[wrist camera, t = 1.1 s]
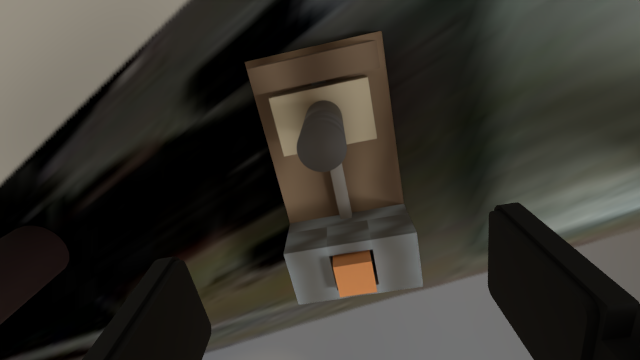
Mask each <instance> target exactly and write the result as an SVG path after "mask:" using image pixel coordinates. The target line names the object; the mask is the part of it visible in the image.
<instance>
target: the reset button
mask: <svg viewBox="0 0 640 360" xmlns="http://www.w3.org/2000/svg"><path fill="white" fill-rule="evenodd" d="M333 270H334V274H335V278H336V282H337V286H338V290H339V295H340V297H347V296H353V295H360V294H367V293H374V292H377V288H376V282H375V277H374V271H373V266H372V261H371V255H370V250H365V251H359V252H352V253H346V254H340V255H334V256H333Z"/></svg>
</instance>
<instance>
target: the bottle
mask: <svg viewBox="0 0 640 360" xmlns="http://www.w3.org/2000/svg"><path fill="white" fill-rule="evenodd" d="M68 262H69V252H68V249H67V247H66V245H65V243H64V242H63V241H62V240H61V238H60V237H58V236H57V235H56V234H55V233H53V232H51V231H49V230H47V229H45V228H43V227H38V226H34V225H33V226H23V227H20V228H17V229H15V230H13V231H12V232H10V233H8V234H7V235H5V236H4V237H2V238H0V324H1V323H2V322H4V321H5V320H6V319H7V318H8V317H9V316H10V315H12V314H13V313H14V312H15V311H16V310H17V309H19V308H20V307H21V306H22V305H23V304H24V303H25V302H27V301H28V300H29V299H30V298H31V297H32V296H33V295H35V294H36V293H37V292H38V291H39V290H40V289H42V288H43V287H44V286H45V285H46V284H47V283H48V282H50V281H51V280H52V279H53V278H54V277H55V276H57V275H58V274H59V273H60V272H61V271H62V270H63V269H65V268H66V266H67V264H68Z"/></svg>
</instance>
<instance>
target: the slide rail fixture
mask: <svg viewBox="0 0 640 360" xmlns="http://www.w3.org/2000/svg"><path fill="white" fill-rule="evenodd" d="M245 65H246V69H247V73H248V76H249V80H250V83H251V87H252V90H253V94H254V97H255V101H256V104H257V108H258V111H259V115H260V118H261V122H262V126H263V129H264V133H265V136H266V140H267V143H268V147H269V150H270V154H271V157H272V161H273V164H274V168H275V172H276V175H277V179H278V182H279V186H280V189H281V193H282V196H283V200H284V203H285V207H286V210H287V214H288V217H289V221H290V227H289V231H288V236H287V241H286V245H285V250H284V257H285V260H286V264H287V267H288V270H289V274H290V277H291V280H292V284H293V287H294V290H295V293H296V297H297V300H298V303H299V305H300V304H307V303H313V302H320V301H327V300H334V299H341V298H347V297H354V296H361V295H368V294H375V293H382V292H388V291H395V290H402V289H409V288H416V287H422V286H423V281H422V273H421V264H420V256H419V247H418V239H417V232H416V230H415V227H414V225H413V223H412V221H411V218H410V216H409V214H408V212H407V210H406V207H405V205H404V201H403V193H402V185H401V178H400V170H399V162H398V155H397V147H396V139H395V132H394V124H393V116H392V109H391V101H390V93H389V86H388V78H387V70H386V62H385V55H384V47H383V39H382V32H381V31H378V32H373V33H369V34H365V35H360V36H356V37H352V38H347V39H343V40H339V41H334V42H330V43H325V44H321V45H317V46H312V47H308V48H304V49H299V50H295V51H291V52H286V53H282V54H277V55H273V56H269V57H264V58H260V59H256V60H251V61H247V62H245ZM363 74H365V75H366V76H367V77H368V82H369V88H370V95H371V101H372V108H373V115H374V121H375V128H376V134H377V139H372V140H367V141H362V142H357V143H351V144H347V152H346V156H345V158H344V160H343V162H342V163H341V164H340V165H339V166H338V167H337V168H335V169H333V170H331V171H327V172H317V171H313V170H311V169H309V168H307V167H306V166H305V165H304V164H303V163H302V162H301V161H300V159H299V157H298V154H295V155H290V156H285V157H284V154H283V151H282V147H281V143H280V139H279V136H278V132H277V128H276V124H275V121H274V117H273V113H272V110H271V106H270V102H269V98H270V97H271V96H272V95H273V94H276V93H280V92H285V91H289V90H294V89H299V88H303V87H308V86H313V85H317V84H322V83H326V82H331V81H336V80H340V79H345V78H350V77H354V76H359V75H363ZM365 250H370V255H371V261H372V266H373V271H374V277H375V282H376V288H377V292H374V293H367V294H360V295H353V296H347V297H340V295H339V290H338V286H337V282H336V278H335V274H334V270H333V256H334V255H340V254H346V253H352V252H359V251H365Z"/></svg>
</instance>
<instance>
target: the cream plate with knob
mask: <svg viewBox="0 0 640 360" xmlns="http://www.w3.org/2000/svg"><path fill="white" fill-rule="evenodd" d="M269 102H270V106H271V110H272V113H273V117H274V121H275V124H276V128H277V132H278V136H279V139H280V143H281V147H282V151H283V154H284V157H285V156H290V155H295V154H298V157H299V159H300V161H301V162H302V163H303V164H304V165H305V166H306V167H307V168H309V169H311V170H313V171H317V172H327V171H331V170H333V169H335V168H337V167H338V166H339V165H340V164H341V163H342V162H343V160H344V158H345V156H346V152H347V144H351V143H357V142H362V141H367V140H372V139H377V134H376V128H375V121H374V115H373V108H372V101H371V95H370V88H369V82H368V77H367V76H366V75H365V74H363V75H359V76H354V77H350V78H345V79H340V80H336V81H331V82H326V83H322V84H317V85H313V86H308V87H303V88H299V89H294V90H289V91H285V92H280V93H276V94H273V95H272V96H271V97H270V98H269Z"/></svg>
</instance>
